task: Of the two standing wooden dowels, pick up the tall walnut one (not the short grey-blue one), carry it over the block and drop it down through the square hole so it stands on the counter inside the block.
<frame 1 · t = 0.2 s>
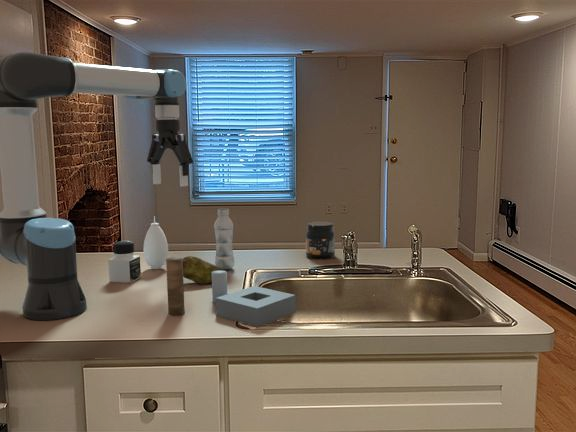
hand: (170, 185, 190), 28 cm above the table, tool pointing down, fingers open, 13 cm apart
plastic bottle: (224, 270, 192), on the table
sauce bottle: (156, 269, 194), on the table
potato: (200, 283, 176), on the table
medicine bottle: (125, 280, 180), on the table
supplement container: (320, 257, 210), on the table
hole block: (256, 313, 145), on the table
long pin: (176, 313, 146), on the table
short pin: (220, 301, 156), on the table
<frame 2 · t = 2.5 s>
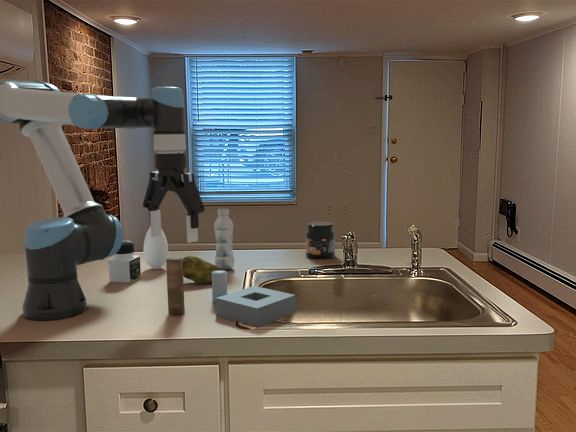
hand: (174, 238, 144), 19 cm above the table, tool pointing down, fingers open, 13 cm apart
nothing on the table moved.
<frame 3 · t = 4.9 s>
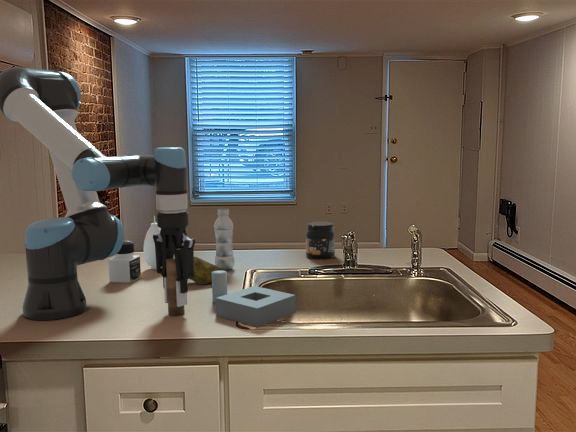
hand: (176, 303, 146), 3 cm above the table, tool pointing down, fingers closed on long pin, 4 cm apart
long pin: (176, 313, 146), on the table, touching gripper
everything else where it was.
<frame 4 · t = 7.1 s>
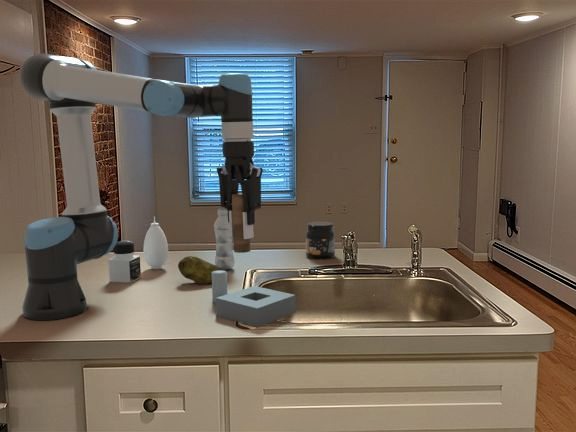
hand: (241, 237, 142), 19 cm above the table, tool pointing down, fingers closed on long pin, 4 cm apart
long pin: (242, 251, 143), point 16 cm above the table, touching gripper
everything else where it was.
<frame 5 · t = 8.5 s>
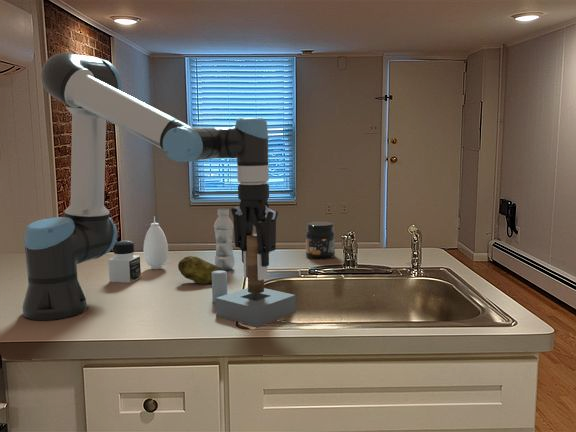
hand: (255, 277, 144), 9 cm above the table, tool pointing down, fingers closed on long pin, 4 cm apart
long pin: (256, 291, 144), point 6 cm above the table, touching gripper
everything else where it was.
when the fingers open (6 cm above the table, at t = 9.5 s): long pin drops 2 cm, on the table.
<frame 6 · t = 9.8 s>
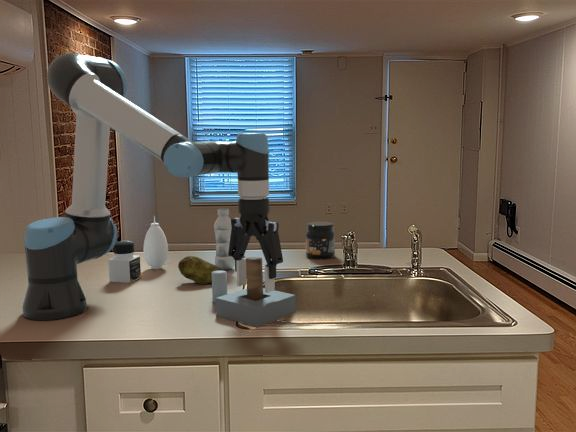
hand: (255, 288, 144), 7 cm above the table, tool pointing down, fingers open, 9 cm apart
long pin: (255, 313, 145), on the table
everything else where it was.
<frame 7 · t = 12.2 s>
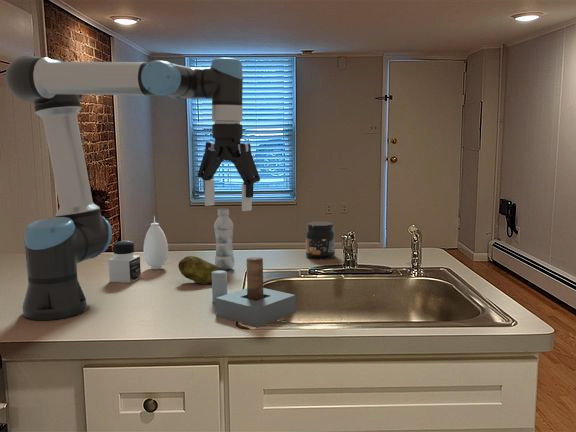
hand: (227, 208, 148), 26 cm above the table, tool pointing down, fingers open, 13 cm apart
nothing on the table moved.
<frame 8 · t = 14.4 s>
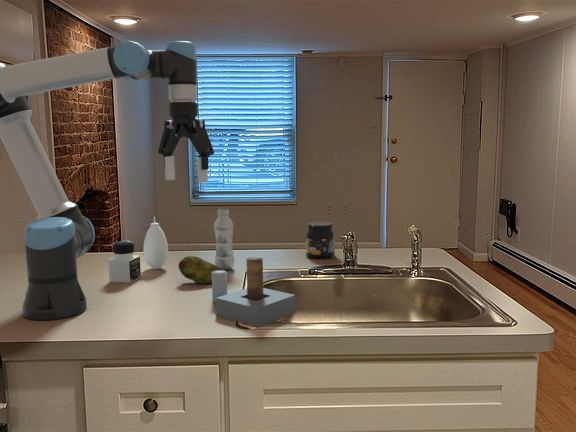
hand: (186, 181, 159), 32 cm above the table, tool pointing down, fingers open, 13 cm apart
nothing on the table moved.
at the end: long pin 0.1 cm off-centre on the hole block, point 0.0 cm above the hole block's base; long pin tilted 0°; short pin moved 0.0 cm from its start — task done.
